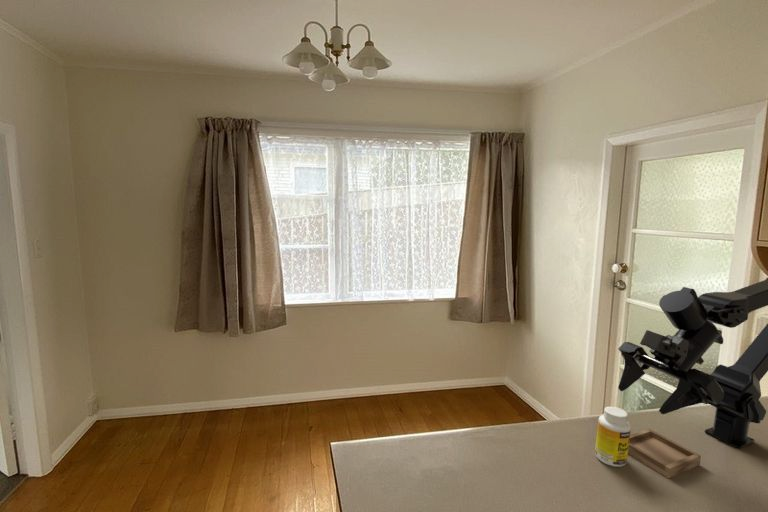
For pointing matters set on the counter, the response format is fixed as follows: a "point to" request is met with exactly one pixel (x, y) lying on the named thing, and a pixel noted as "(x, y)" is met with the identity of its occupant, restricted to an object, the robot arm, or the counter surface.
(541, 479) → the counter surface
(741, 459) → the counter surface
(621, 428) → the supplement bottle
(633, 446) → the walnut tray
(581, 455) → the counter surface
